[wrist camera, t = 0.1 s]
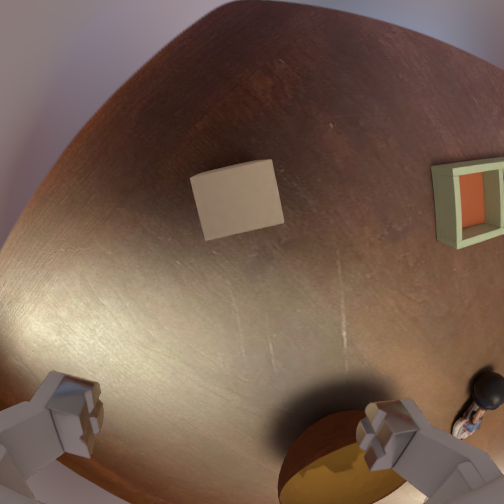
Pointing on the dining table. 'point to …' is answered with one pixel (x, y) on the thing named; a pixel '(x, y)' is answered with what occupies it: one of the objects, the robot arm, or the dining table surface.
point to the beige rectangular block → (237, 199)
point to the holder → (469, 201)
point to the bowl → (333, 466)
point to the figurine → (480, 403)
